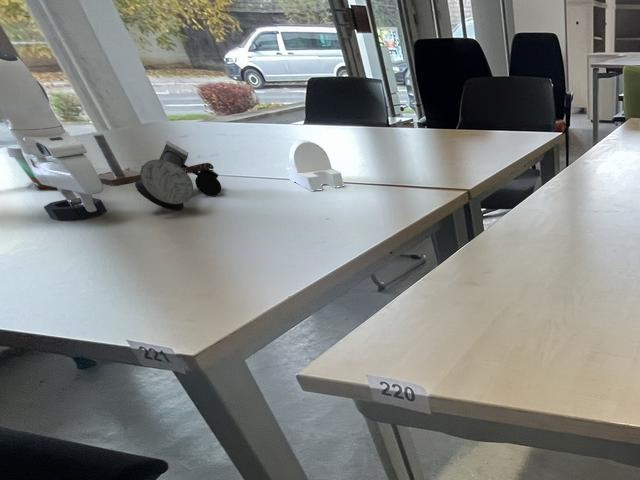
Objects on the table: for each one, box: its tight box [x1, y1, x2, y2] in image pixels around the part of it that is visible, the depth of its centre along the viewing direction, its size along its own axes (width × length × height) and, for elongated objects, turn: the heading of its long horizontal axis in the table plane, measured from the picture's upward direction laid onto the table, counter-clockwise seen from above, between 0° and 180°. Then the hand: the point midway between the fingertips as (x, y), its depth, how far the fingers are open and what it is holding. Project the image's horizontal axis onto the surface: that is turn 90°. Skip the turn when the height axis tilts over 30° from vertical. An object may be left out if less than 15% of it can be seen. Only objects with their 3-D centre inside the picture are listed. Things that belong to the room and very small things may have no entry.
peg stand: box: [92, 133, 141, 186], centre depth 143 cm, size 9×9×12 cm
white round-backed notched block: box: [285, 139, 345, 191], centre depth 146 cm, size 10×18×11 cm, turn 44°
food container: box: [6, 146, 58, 191], centre depth 136 cm, size 12×6×10 cm, turn 129°
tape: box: [43, 197, 108, 222], centre depth 121 cm, size 10×10×2 cm
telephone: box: [134, 140, 222, 212], centre depth 130 cm, size 15×13×30 cm
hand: (85, 209), depth 120 cm, fingers open, 4 cm apart
